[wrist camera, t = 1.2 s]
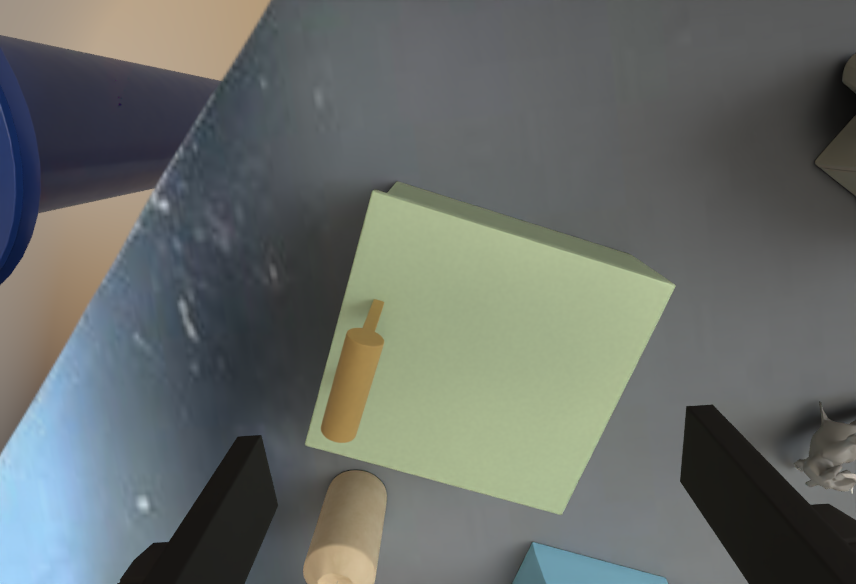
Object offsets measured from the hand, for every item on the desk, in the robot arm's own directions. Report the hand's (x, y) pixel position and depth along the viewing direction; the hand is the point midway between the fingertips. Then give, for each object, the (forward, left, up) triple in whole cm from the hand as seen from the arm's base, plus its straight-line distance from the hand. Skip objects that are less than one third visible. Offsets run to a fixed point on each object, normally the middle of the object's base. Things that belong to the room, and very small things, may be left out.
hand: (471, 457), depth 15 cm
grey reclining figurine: (+33, -4, -24) cm, 41 cm away
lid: (+3, -5, -17) cm, 18 cm away
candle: (-2, -24, -24) cm, 34 cm away
